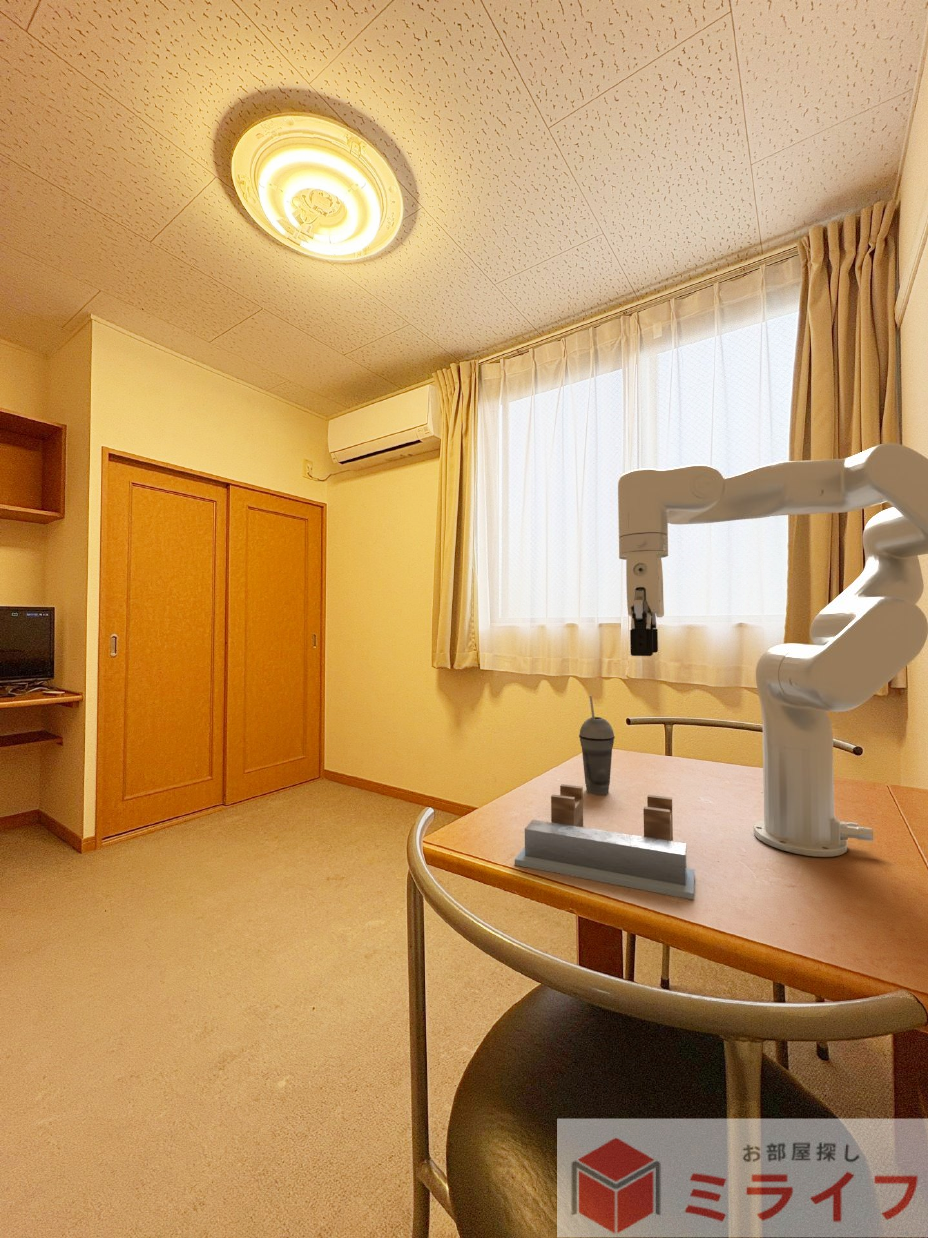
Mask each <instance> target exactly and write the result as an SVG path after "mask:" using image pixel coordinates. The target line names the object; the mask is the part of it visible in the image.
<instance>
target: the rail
mask: <svg viewBox="0 0 928 1238" xmlns="http://www.w3.org/2000/svg"><path fill="white" fill-rule="evenodd" d="M524 847H525V856H528V857H534V858H539V859H544V860H550V861H555V862H560V863H566V864H571V865H576V866H582V867H587V868H593V869H598V870H603V871H609V872H614V873H619V874H625V875H630V876H635V877H641V878H646V879H652V880H657V881H662V882H668V883H673V884H678V885H684V886H686V873H687V869H686V868H687V843H686V842H680V841H675V840H673V841H668V840H662V839H655V838H649V837H644V836H643V835H642V836H641V835H635V834H628V833H621V832H614V831H611V830H609V831H608V830H603V829H596V828H588V827H584V826H583V827H577V826H571V825H565V824H558V823H552V822H550V821H543V820H538V819H531V821H530V822H529V823H528V824H527V826H525V828H524Z"/></svg>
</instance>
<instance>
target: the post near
mask: <svg viewBox="0 0 928 1238" xmlns="http://www.w3.org/2000/svg"><path fill="white" fill-rule="evenodd" d="M646 797H647V798H646V799H647V800H646V801H647V803H646V804H647V806H645V805H644V806H643V837H649V838H655V839H662V840H668V841H674V838H673V837H674V833H673V831H674V829H673V827H674V826H673V819H674V818H673V797H672V796H671V797H670V796H664V795H663V796H661V795H654V794H647V796H646Z"/></svg>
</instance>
